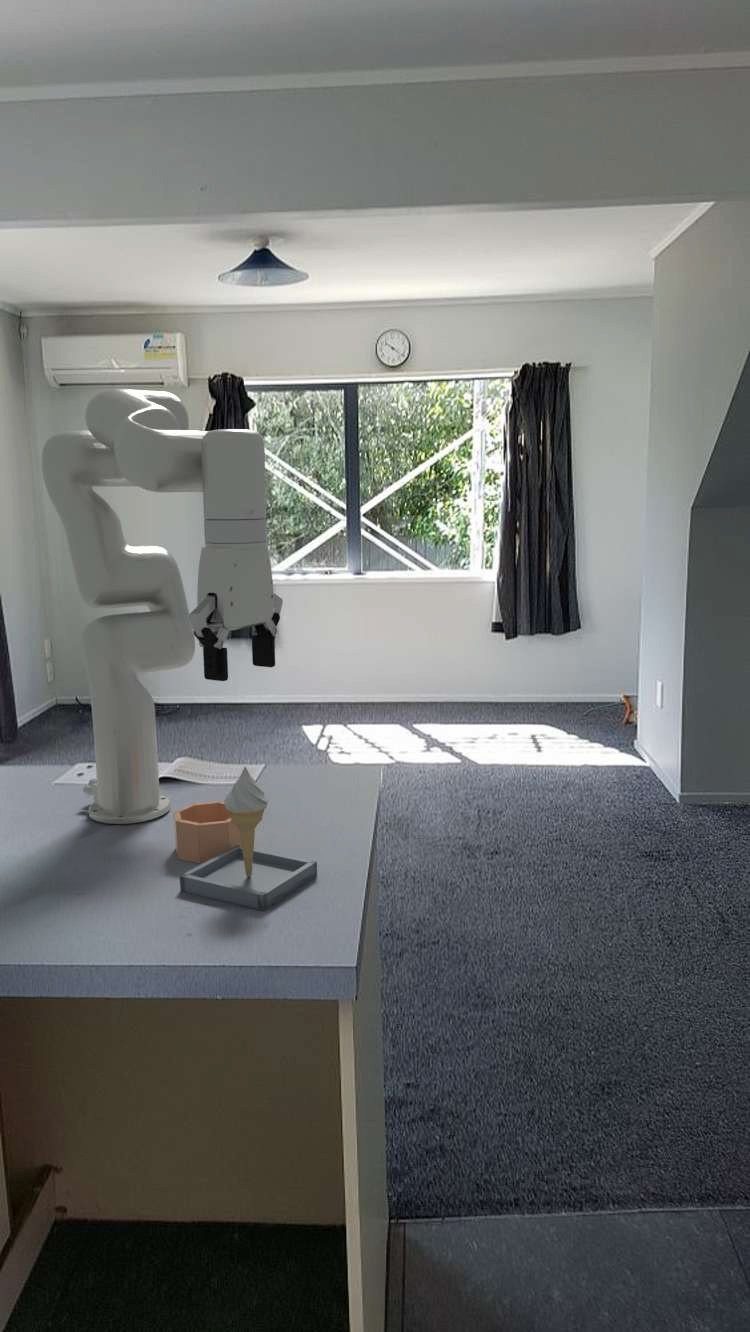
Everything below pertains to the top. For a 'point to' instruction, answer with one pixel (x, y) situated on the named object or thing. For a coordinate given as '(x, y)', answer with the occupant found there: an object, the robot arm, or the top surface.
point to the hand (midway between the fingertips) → (240, 672)
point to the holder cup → (204, 831)
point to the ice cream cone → (246, 813)
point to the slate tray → (261, 890)
